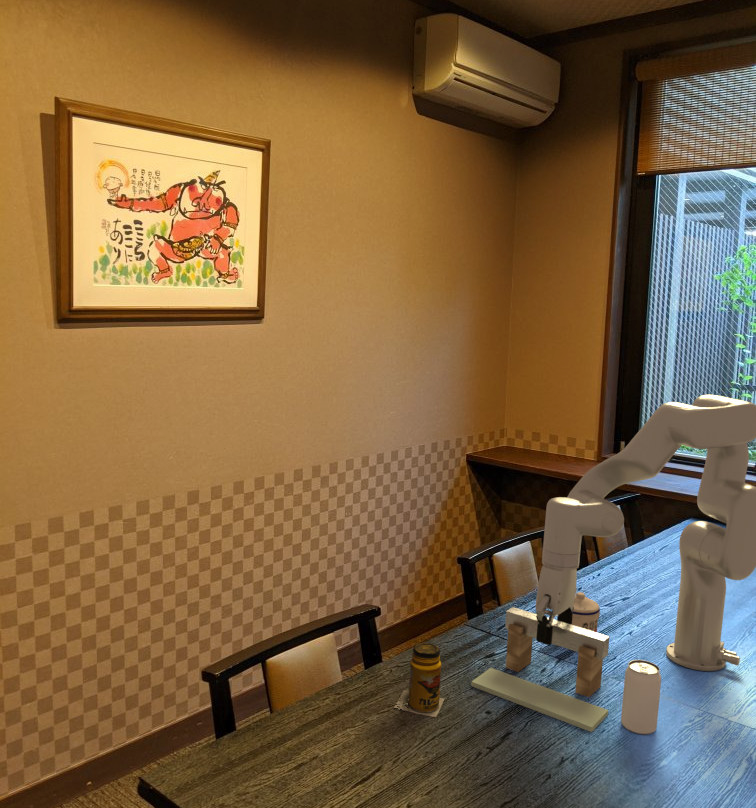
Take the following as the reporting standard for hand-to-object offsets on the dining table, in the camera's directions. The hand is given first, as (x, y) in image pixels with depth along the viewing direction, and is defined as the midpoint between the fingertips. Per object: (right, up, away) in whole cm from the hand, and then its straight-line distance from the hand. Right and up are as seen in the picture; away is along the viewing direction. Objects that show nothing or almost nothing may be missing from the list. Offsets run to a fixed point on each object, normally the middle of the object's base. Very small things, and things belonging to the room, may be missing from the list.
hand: (554, 635), depth 167 cm
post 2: (+6, -10, -3) cm, 12 cm away
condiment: (-29, -10, -12) cm, 33 cm away
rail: (0, -1, 0) cm, 1 cm away
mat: (-5, -10, -8) cm, 14 cm away
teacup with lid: (+11, -7, +21) cm, 24 cm away
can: (+12, -13, -17) cm, 24 cm away
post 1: (-6, -8, +6) cm, 12 cm away
